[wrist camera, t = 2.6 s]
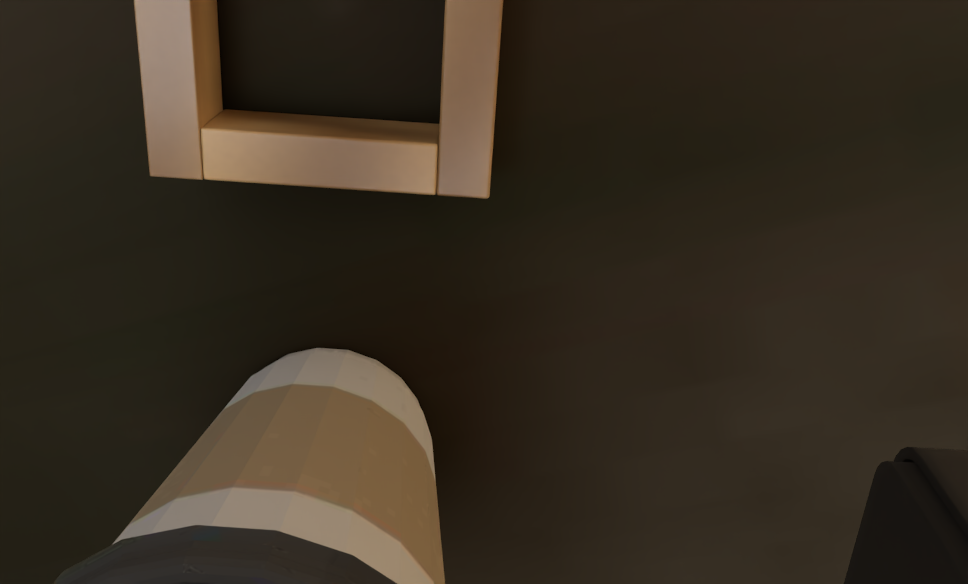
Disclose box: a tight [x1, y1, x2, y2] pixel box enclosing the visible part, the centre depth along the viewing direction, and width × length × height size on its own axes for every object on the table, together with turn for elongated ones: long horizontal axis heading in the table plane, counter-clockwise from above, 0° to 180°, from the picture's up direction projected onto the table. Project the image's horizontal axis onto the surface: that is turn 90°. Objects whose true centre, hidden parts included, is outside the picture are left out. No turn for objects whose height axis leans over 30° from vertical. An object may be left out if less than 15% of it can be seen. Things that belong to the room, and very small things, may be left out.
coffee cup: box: [53, 348, 445, 584], centre depth 27 cm, size 11×11×15 cm
